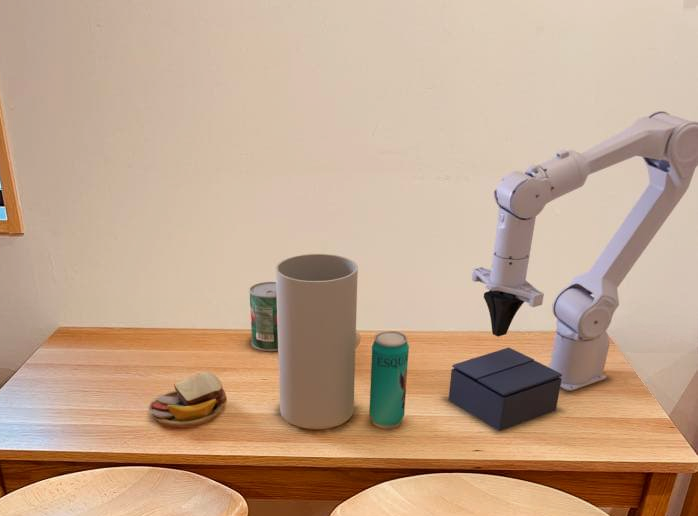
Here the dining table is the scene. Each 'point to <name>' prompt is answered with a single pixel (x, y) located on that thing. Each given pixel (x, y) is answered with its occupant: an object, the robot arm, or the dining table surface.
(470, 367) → the flap
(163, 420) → the toy sandwich meal
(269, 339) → the canned tomato
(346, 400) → the cylinder vase
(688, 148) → the robot arm
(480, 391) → the carton
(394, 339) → the beverage can
